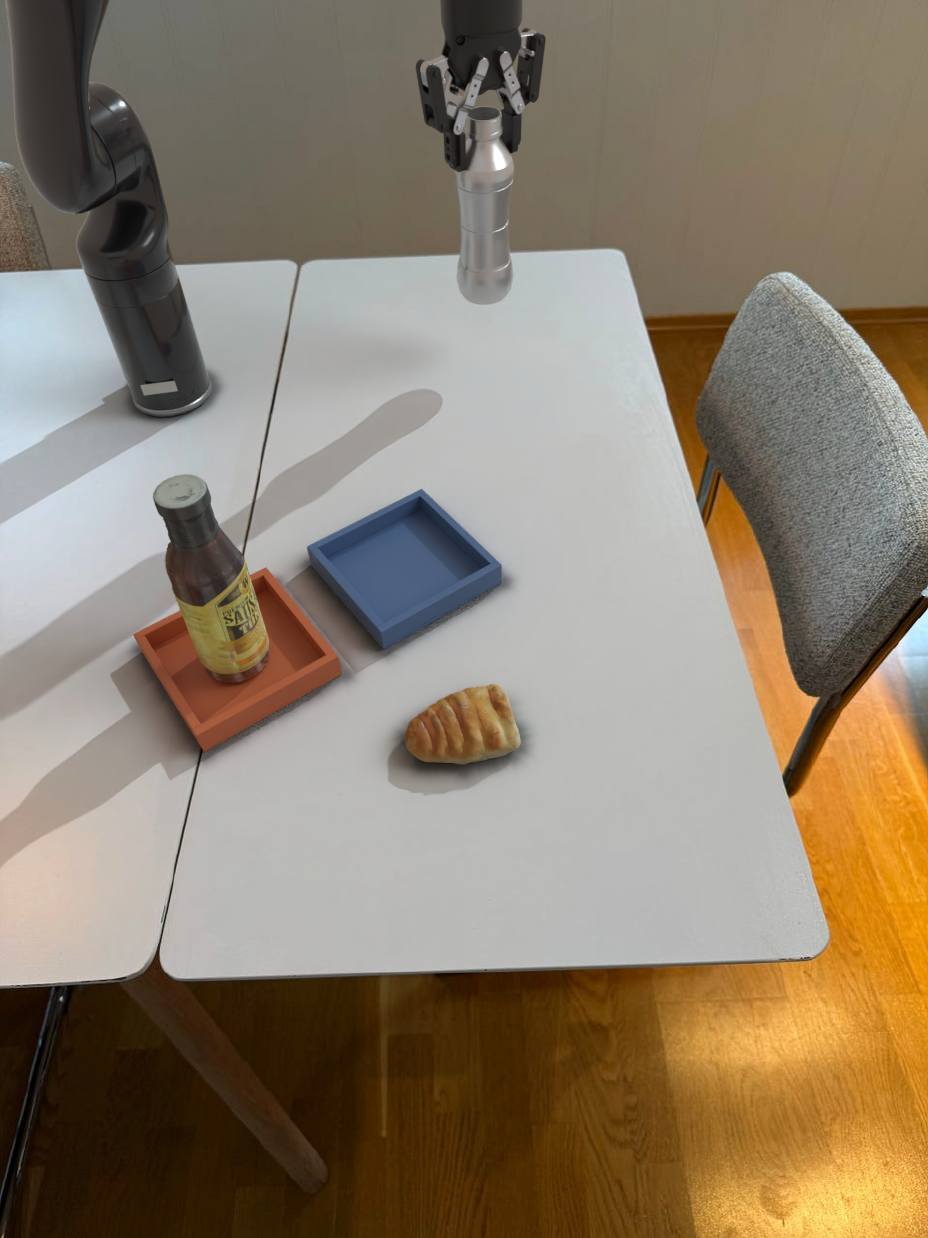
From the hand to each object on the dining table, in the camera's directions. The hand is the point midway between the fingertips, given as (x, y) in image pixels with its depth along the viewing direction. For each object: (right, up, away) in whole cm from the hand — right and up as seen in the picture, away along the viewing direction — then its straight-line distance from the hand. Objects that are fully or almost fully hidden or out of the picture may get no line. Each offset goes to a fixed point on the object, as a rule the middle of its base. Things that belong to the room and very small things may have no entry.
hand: (483, 158), depth 93 cm
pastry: (-2, -58, -17) cm, 60 cm away
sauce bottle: (-22, -51, -11) cm, 57 cm away
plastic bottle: (0, -10, +12) cm, 16 cm away
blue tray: (-8, -43, -5) cm, 44 cm away
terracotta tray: (-22, -51, -11) cm, 57 cm away
